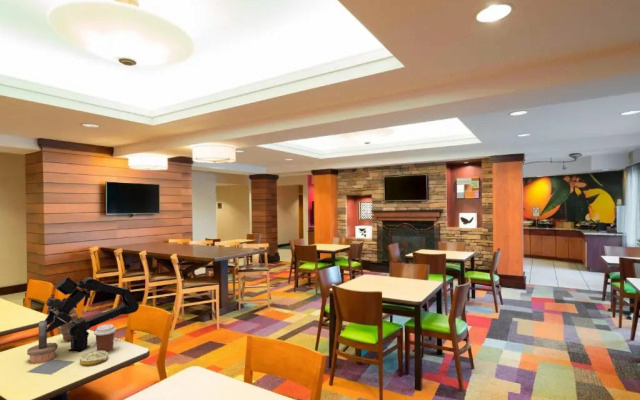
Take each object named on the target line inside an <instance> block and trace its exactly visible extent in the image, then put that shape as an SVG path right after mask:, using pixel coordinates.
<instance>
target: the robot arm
mask: <svg viewBox="0 0 640 400" xmlns="http://www.w3.org/2000/svg"><path fill="white" fill-rule="evenodd" d="M79 288H80V289H79ZM54 289H55V290H57V291H58V292H60V293H61V294H63V295H64V296H67V295H68V296H67V297H64V298H62V299H60V298H56V297H55V298H54V297H48V298H47V300H46V302H45V305H46V306H47V307H48V309H47V311H48V315H47V316H46V317H45V319H44V321H47V329H46V332H47V333H49V332H51V331H53V330H56V329H57V328H59V327H60V328H61V326H62V325H64V324H67V323H69V322H70V321H71V320H72V317H71V316H70V312H71V311H72V310H73V309H77V308H78V304H80V303H81V301H83V299H85V297H87V298H88V299H91V293H92V292H105V293H109V294H114V295H118V296H121V300H122V302H121V303H120V304H119V305H118V306H116V307H114V308H112V309H108V310H107V311H104V312H102V313H101V312H100V313H99V314H97V315H93V316H92V317H89V318H86V319H85V318H84V317H82V316H81V317H78V319H76V320H72V321H73V322H70V323H69V324H68V325H67V327H66V331H67V332H68V333H69V334H70V335H71V336H73V337H71V340H70V349H68V352H72V353H81V352H83V351H84V350H87V349H89V348H91V345H88V343H89V339H88V338H89V335H90V333H89V331H88V330H90V329H91V328H92V327H95V326H97V325H100V324H102V323H104V322H107V321H109V320H112V319H114V318H116V317H119V316H122V315H129V314H134V313H136V312H137V311H139V307H140V305H139V303H138V302H137V301H136V299H135V297H134V296H133V294H132V292H131V289H129V288H127V287H121V286H117V285H112V284H109V283H104V282H102V281H100V280H98V279H95V278H93V277H90V276H87V277H84V278H83V279H82V280H78V281H74V280H72V279H71V278H70V277H69V276H66V277H65V278H63V279H61V280H59V281H58V282H57V283H56V285H55V286H54ZM66 322H67V323H66Z"/></svg>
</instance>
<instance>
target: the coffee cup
mask: <svg viewBox="0 0 640 400" xmlns="http://www.w3.org/2000/svg"><path fill="white" fill-rule="evenodd" d="M116 331H117V328H116V327H114V324H102V325H100V326H97V327H96V330H94V331H93V334H94V336H95V341H96V342H95V343H96V351H106V352H107V353H108V354H109V353H111V352H112V351H113V349H114V340H115V339H114V338H115V332H116Z"/></svg>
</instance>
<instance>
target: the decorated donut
mask: <svg viewBox="0 0 640 400" xmlns="http://www.w3.org/2000/svg"><path fill="white" fill-rule="evenodd" d="M108 357H109V353H107V352H106V351H97V350H94V351H90V352H87V353H84V354H82V355H81V356H80V357H79V363H80V364H81V365H82V366H84V367H85V366H86V367H91V366H96V365H99V364H101V363H104V362H105V361H106V360H107V359H108Z"/></svg>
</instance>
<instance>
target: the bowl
mask: <svg viewBox="0 0 640 400" xmlns="http://www.w3.org/2000/svg"><path fill="white" fill-rule="evenodd" d="M55 356H56V350H55V351H53V352H50V353H47V354H43V355H37V356H31V355H29V363H31V364H40V363H45V362H47V361H50V360H52V359H54V358H55Z"/></svg>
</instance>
